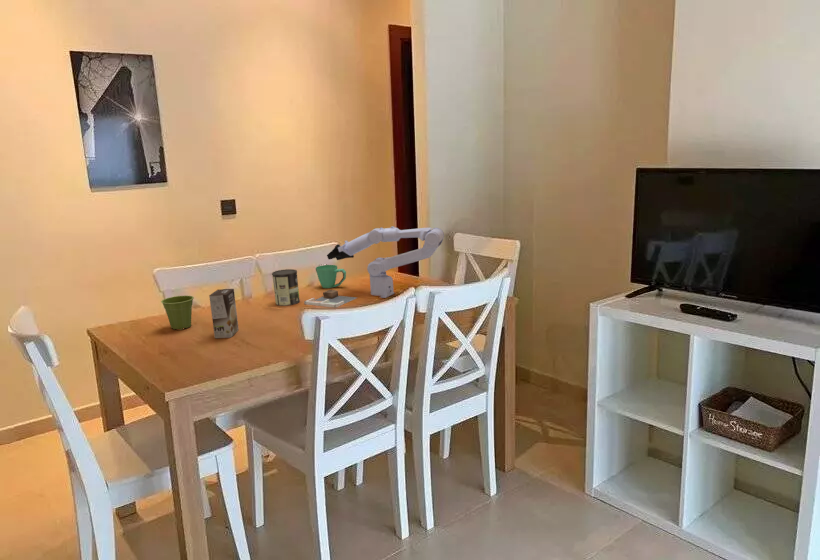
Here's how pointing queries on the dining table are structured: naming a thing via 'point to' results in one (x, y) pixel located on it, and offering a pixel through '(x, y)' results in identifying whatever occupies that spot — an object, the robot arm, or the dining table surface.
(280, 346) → the dining table surface
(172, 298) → the plant pot
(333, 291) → the token
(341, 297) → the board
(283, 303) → the coffee can
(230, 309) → the coffee box
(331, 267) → the mug
